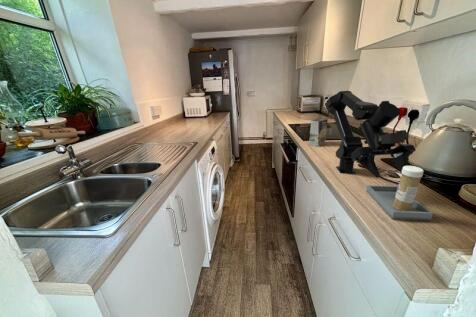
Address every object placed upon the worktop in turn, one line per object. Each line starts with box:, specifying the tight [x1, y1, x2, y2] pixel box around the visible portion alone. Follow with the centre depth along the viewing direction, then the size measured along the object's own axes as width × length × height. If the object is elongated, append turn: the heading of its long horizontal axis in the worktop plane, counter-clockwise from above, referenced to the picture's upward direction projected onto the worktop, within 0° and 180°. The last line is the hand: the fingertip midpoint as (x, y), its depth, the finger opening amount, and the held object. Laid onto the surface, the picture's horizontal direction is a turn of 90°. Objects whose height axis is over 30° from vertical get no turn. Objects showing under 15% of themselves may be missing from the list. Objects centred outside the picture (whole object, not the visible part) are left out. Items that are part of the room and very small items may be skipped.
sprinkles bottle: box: [393, 165, 424, 211], centre depth 58 cm, size 5×5×14 cm
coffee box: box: [308, 118, 328, 147], centre depth 127 cm, size 9×6×16 cm
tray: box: [365, 185, 434, 222], centre depth 64 cm, size 16×10×2 cm, turn 172°
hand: (392, 176), depth 63 cm, fingers open, 9 cm apart
